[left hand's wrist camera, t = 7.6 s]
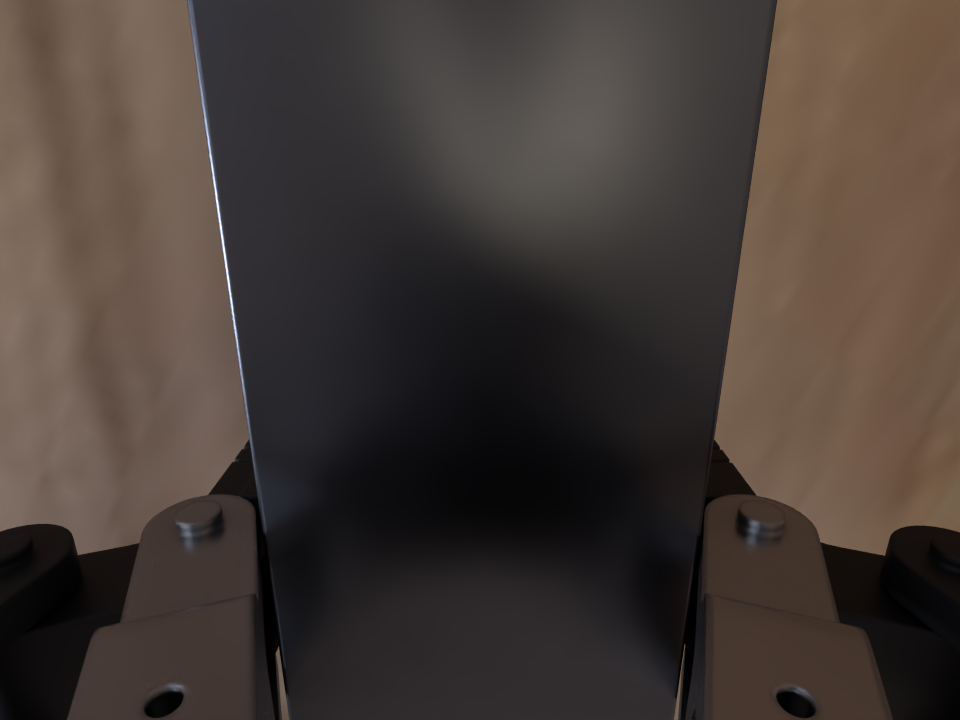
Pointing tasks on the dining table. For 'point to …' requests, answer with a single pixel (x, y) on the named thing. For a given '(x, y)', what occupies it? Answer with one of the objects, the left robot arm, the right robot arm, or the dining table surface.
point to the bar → (481, 334)
